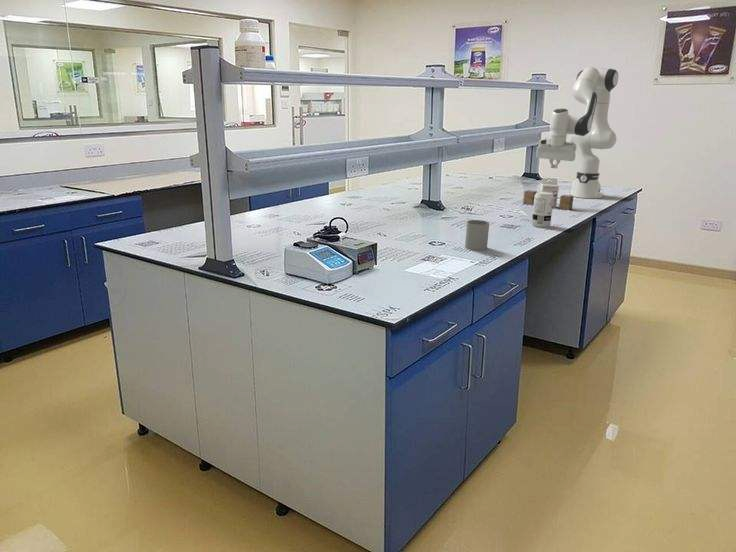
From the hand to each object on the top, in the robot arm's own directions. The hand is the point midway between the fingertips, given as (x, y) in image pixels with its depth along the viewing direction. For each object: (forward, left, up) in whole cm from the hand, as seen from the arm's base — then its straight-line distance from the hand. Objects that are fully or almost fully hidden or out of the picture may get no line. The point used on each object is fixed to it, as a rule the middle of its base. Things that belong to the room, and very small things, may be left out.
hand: (554, 168), depth 301 cm
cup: (+107, +15, -20) cm, 110 cm away
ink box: (+3, 0, -20) cm, 20 cm away
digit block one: (+3, +10, -20) cm, 23 cm away
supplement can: (+51, +17, -20) cm, 57 cm away
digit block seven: (+3, -10, -20) cm, 23 cm away
